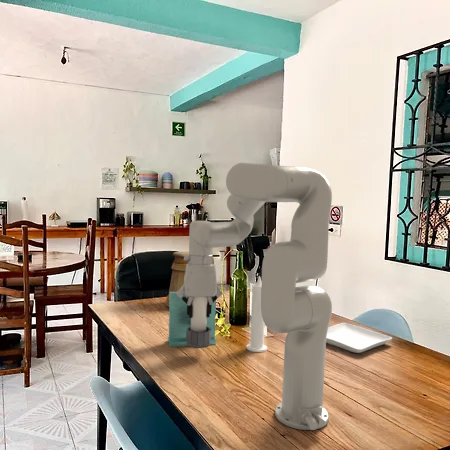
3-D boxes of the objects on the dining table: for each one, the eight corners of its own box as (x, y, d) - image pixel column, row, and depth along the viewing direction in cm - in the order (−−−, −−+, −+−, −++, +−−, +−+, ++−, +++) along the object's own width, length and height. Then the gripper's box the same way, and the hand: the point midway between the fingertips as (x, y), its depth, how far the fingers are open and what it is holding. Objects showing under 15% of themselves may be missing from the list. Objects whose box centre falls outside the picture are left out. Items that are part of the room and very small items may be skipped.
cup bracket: (225, 359, 138) (226, 303, 137) (174, 362, 135) (175, 305, 133) (212, 338, 158) (213, 289, 156) (167, 340, 154) (168, 290, 152)
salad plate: (359, 359, 144) (360, 348, 143) (308, 340, 160) (309, 331, 160) (393, 346, 157) (394, 336, 157) (343, 330, 173) (344, 321, 173)
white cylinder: (207, 334, 138) (208, 291, 137) (191, 335, 137) (193, 291, 136) (204, 329, 143) (205, 287, 142) (189, 330, 142) (190, 287, 140)
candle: (266, 353, 145) (269, 279, 143) (244, 351, 146) (247, 277, 144) (268, 346, 152) (271, 275, 150) (248, 344, 153) (250, 273, 151)
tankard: (158, 303, 203) (159, 250, 201) (202, 297, 217) (203, 247, 215) (177, 313, 189) (178, 255, 187) (222, 306, 202) (224, 252, 200)
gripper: (175, 262, 132) (173, 321, 134) (229, 261, 136) (227, 319, 138) (172, 258, 139) (170, 314, 141) (224, 258, 143) (222, 312, 145)
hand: (198, 315), depth 139 cm, fingers closed on white cylinder, 5 cm apart
